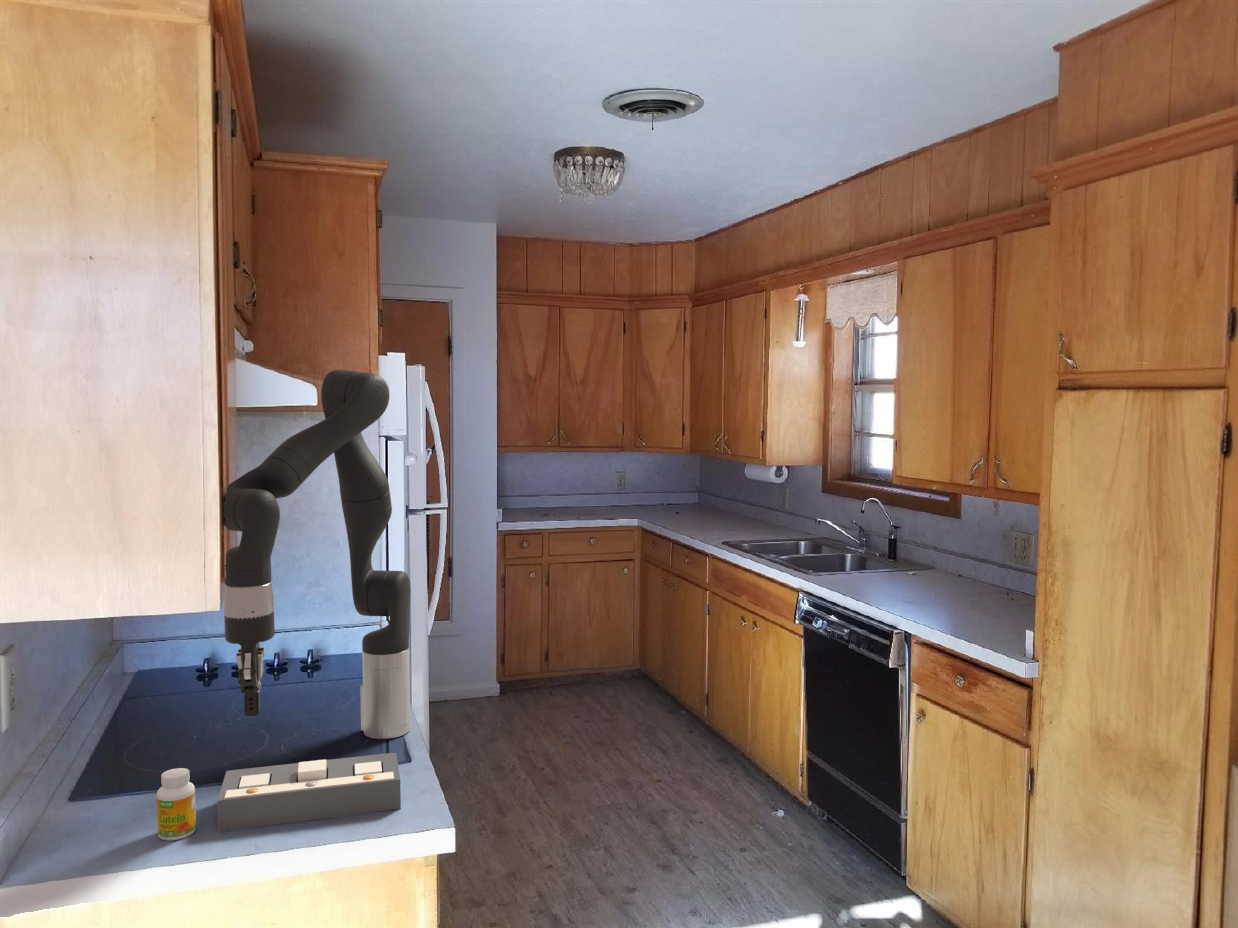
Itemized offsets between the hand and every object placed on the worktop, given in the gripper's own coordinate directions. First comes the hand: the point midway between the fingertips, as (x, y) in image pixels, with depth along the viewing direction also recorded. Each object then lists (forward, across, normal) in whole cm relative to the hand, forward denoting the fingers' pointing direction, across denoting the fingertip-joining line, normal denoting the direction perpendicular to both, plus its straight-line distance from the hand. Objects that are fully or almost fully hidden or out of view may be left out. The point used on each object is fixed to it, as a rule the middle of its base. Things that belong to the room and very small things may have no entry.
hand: (252, 714), depth 149 cm
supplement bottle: (+16, -5, +11) cm, 20 cm away
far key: (+14, 0, -18) cm, 23 cm away
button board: (+16, 0, -9) cm, 19 cm away
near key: (+14, 0, 0) cm, 14 cm away
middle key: (+13, 0, -9) cm, 15 cm away
